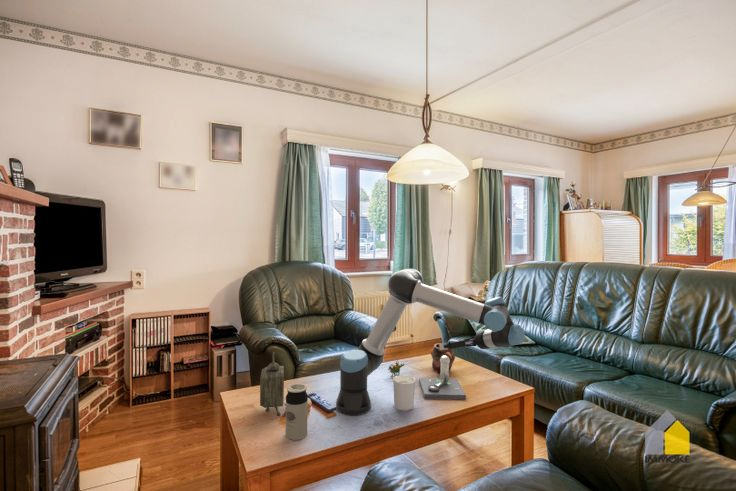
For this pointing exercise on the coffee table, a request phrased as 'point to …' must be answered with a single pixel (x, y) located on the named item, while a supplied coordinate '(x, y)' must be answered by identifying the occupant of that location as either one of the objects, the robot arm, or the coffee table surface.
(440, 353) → the decorative planter
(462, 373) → the coffee table surface
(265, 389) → the grey upright ornament
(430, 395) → the dial board
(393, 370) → the figurine
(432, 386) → the shiny silver rounded post
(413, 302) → the robot arm
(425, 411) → the coffee table surface
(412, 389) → the candle holder
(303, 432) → the travel mug
